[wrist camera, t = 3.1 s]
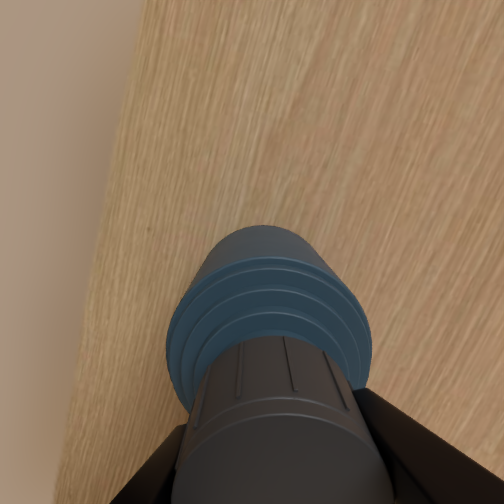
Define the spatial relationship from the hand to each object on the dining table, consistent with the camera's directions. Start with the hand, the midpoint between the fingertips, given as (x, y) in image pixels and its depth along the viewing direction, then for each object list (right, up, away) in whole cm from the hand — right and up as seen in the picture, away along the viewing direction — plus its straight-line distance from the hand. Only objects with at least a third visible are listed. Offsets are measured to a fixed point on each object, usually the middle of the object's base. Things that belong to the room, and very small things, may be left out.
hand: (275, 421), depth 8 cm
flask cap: (0, 0, +1) cm, 1 cm away
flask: (0, +2, +10) cm, 10 cm away
